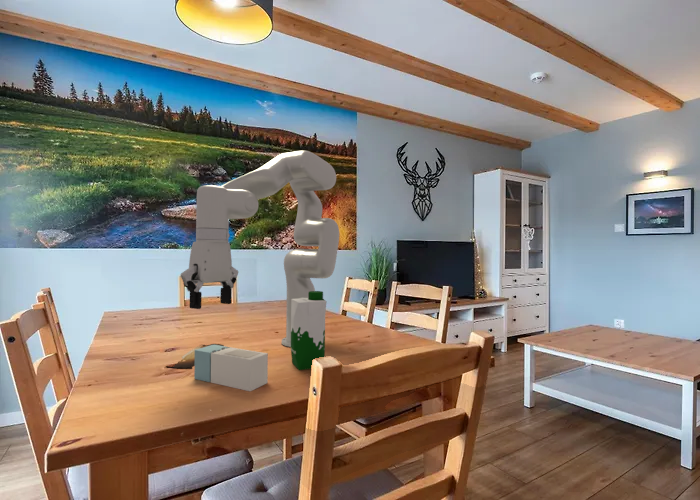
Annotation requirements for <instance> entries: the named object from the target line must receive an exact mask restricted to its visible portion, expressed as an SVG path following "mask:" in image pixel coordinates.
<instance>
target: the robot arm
mask: <svg viewBox="0 0 700 500" xmlns="http://www.w3.org/2000/svg"><path fill="white" fill-rule="evenodd" d="M336 182H337V174H336V170H335V168H334V167H333V166H332V164H330V163H328V162H327V161H326V160H324V159H323V158H321V157H320V156H319V155H317V154H316V153H313V152H311V151H309V150H303V149H302V150H296V151H290V152H288V151H287V152H282V153H280V154H278V155H277V156H275V157H273V158H271V160H269V161H268V162H266V163H265V164H263V165H262V166H260V167H258V168H257V169H255V170H253V171H250V172H248V173H245V174H244V175H241V176H239V177H237V178H234V179H232V180H230V181H228V182H226V183H224V184H222V185H220V186H219V185H211V184H209V185H208V184H207V185H206V184H205V185H201V186H199V187H198V188H197V191H196V219H195V220H196V221H195V222H196V223H195V225H196V226H195V228H196V229H195V241H193V242H192V245H191V248H190V254H189V261H188V262H189V263H188V268H187V269H185V270H184V271H182V272H181V273H180V278H181V280H182V282H183V283H182V284H183V285H184V287H185V288H186V290H187V292H189V308H190V309H193V310H195V309H196V310H200V309H202V291H200V290H201V288H202V287H203V285H204V284H214V283H220V285H221V286H222V287H220V296H219V297H220V298H219V299H220V300H219V301H220V304H226V305H231V304H232V290H233V289H234V285H235V283H236V281H237V278H238V275H239V270H238V269H236V268H235V267H234V266H233V265H232V264H233V263H232V262H233V261H232V252H231V250H232V249H231V244H230V242H229V239H230V236H231V235H230V233H229V231H230V230H229V225H230V224H229V223H230V222H229V220H231V219H232V220H239V219H241V220H242V219H248V218H252V217H253V216H254V215H255V214H256V213H257V212H258V211H259V200H260V199H265V198H267V197H270V196H274V195H275V194H277V193H278V192H279V191H280V190H282V189H283V188H284V187H285V186H286V185H288V184H289V186H290V188H291V189H292V191H293V193H294V195H295V198H296V200H297V211H296V212H297V214H296V218H295V222H294V223H295V224H294V230H293V239H294V240H293V241H294V242H295V244H297V245H299V246H301V247H302V246H303V247H318V249H317V248H316V249H314V248H312V249H310V248H295V249H292V250H289V251H288V252H287V253H286V254H285V255H284V259H283V269H284V274H285V280H286V313H285V314H286V316H285V317H286V331H285V332H286V334H285V335H286V337H283V338H282V339H281V345H283V346H285V347H287V348H288V347H289V348H291V299H300V298H309V297H308V296H309V292H310V291H316V289H315V286H314V284H313V282H312V280H311V279H328V278H330V277H331V276H332V275H333V273H334V271H335V267H336V262H337V257H338V251H339V250H338V249H339V242H340V228H339V224H338V223H337V222H336V220H334V219H332V218H329V217H322V215H323V204H322V202H321V200H320V198H319V197H318V195H317V194H316V192H315V191H326V190H330V189H332V188H333V187H334V186H335V185H336Z"/></svg>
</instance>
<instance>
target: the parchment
mask: <svg viewBox="0 0 700 500" xmlns="http://www.w3.org/2000/svg"><path fill="white" fill-rule="evenodd" d="M210 345H220V346H225V345H224V344H221V343H210V344H202V345H198V346H196V347H194V348H192V349H191V350H189V351H188V352H187V353H185V354H184V355H182V356H181V359H180V361H178V362H177V363H175V364H174V365H173V366H172V368H175V369H177V370H178V369H191V370H192V369H193V367H195V350H196V349H200V348H203V347H207V346H210ZM166 368H169V366H168V365H166Z"/></svg>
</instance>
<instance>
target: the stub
mask: <svg viewBox="0 0 700 500" xmlns="http://www.w3.org/2000/svg"><path fill="white" fill-rule="evenodd" d="M209 345H210V344H209ZM227 347H228V346H225V345H224V346H220V345H210V346H207V347H203V348H200V349H196V350H195V366H194V376H193V378H194V380H197V381H202V382H207V383H211V353H212V352H214V351H218V350H222V349H224V348H227Z"/></svg>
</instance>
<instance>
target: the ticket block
mask: <svg viewBox="0 0 700 500" xmlns="http://www.w3.org/2000/svg"><path fill="white" fill-rule="evenodd" d="M226 347H227V348H224V349H222V350H218V351H214V352H212V353H211V382H210V383H212V384H216V385H220V386H224V387H230V388H234V389H238V390H243V391H247V392H252V391H254V390H256V389H258V388H261V387H263V386H264V385H266V384H268V377H269V375H268V369H269V367H268V362H269V357H268V355H269V353H268V352H262V351H261V352H260V351H255V350H250V349H249V350H248V349H243V348H239V347H238V348H237V347H231V346H226Z"/></svg>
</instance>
